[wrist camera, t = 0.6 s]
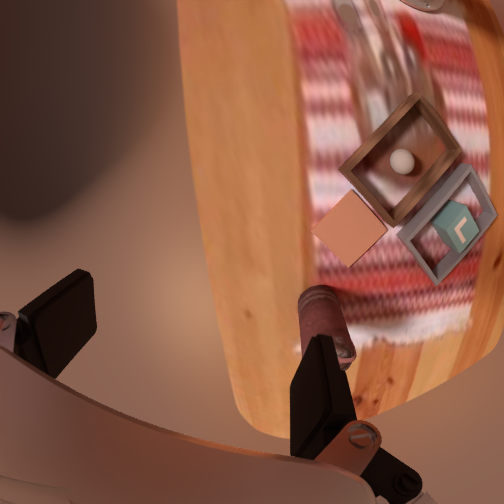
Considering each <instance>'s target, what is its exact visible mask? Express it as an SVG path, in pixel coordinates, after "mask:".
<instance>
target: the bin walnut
mask: <svg viewBox="0 0 504 504" xmlns="http://www.w3.org/2000/svg"><path fill="white" fill-rule="evenodd" d="M413 105H414V107H415V108H416V109H417V110H418V111H419V113H420V114H421V115H422V116H423V117H424V119H425V120H426V121H427V123H428V124H429V125H430V126H431V128H432V129H433V130H434V132H435V133H436V134H437V136H438V137H439V138H440V140H441V141H442V143H443V144H444V145H445V147H446V148H447V149H446V151H445V152H444V153H443V154H442V155H441V156H440V158H439V159H438V160H437V161H436V162H435V163H434V165H433V166H432V167H431V168H430V169H429V170H428V171H427V173H426V174H425V175H424V176H423V177H422V178H421V179H420V180H419V182H418V183H417V184H416V185H415V186H414V187H413V188H412V189H411V190H410V191H409V192H408V194H407V195H406V196H405V197H404V198H403V199H402V200H401V201H400V202H399V203H398V204H397V205H396V206H395V207H394V208H393V209H392V210H391V212H390V213H389V214H388V213H387V212H386V210H385V209H384V208H383V207H382V206H381V205H380V203H379V202H378V201H377V200H376V199H375V198H374V196H373V195H372V194H371V193H370V192H369V191H368V190H367V189H366V187H365V186H364V185H363V184H362V183H361V182H360V181H359V180H358V179H357V178H356V177H355V175H354V174H353V173H352V172H351V170H352V169H353V168H354V167H355V166H356V165H357V164H358V163H359V162H360V161H361V159H362V158H363V157H364V156H365V155H366V154H367V153H368V152H369V151H370V150H371V149H372V148H373V147H374V146H375V145H376V144H377V143H378V142H379V141H380V140H381V139H382V138H383V137H384V136H385V135H386V133H387V132H388V131H389V130H390V129H391V128H392V127H393V126H394V125H395V124H396V123H397V122H398V121H399V120H400V119H401V118H402V117H403V116H404V115H405V113H406V112H407V111H408V110H409V109H410V108H411V107H412V106H413ZM461 152H462V149H461V148H460V146H459V144H458V143H457V141H456V140H455V138H454V137H453V136H452V134H451V133H450V131H449V130H448V128H447V127H446V126H445V124H444V123H443V122H442V120H441V119H440V118H439V116H438V115H437V114H436V112H435V111H434V110H433V108H432V107H431V106H430V105H429V103H428V102H427V101H426V100H425V99H424V97H423V96H422V95H421V94H420V93H419V92H417V93H414V94H412V95H410V96H409V97H408V98H407V99H406V100H405V101H404V102H403V103H402V104H401V105H400V106H399V107H398V108H397V109H396V110H395V111H394V112H393V113H392V114H391V115H390V116H389V117H388V118H387V119H386V120H385V121H384V122H383V123H382V125H381V126H380V127H379V128H378V129H377V130H376V131H375V132H374V133H373V134H372V135H371V136H370V137H369V138H368V139H367V140H366V141H365V142H364V143H363V144H362V145H361V146H360V147H359V148H358V149H357V150H356V151H355V152H354V153H353V154H352V155H351V156H350V158H349V159H348V160H347V161H346V162H345V163H344V164H343V165H342V166H341V167H340V168H339V169H338V170H339V171H340V172H341V173H342V174H343V175H344V176H345V177H346V179H347V180H348V181H349V182H350V183H351V184H352V185H353V186H354V187H355V188H356V189H357V190H358V191H359V192H360V193H361V195H362V196H363V197H364V198H365V199H366V200H367V201H368V202H369V203H370V205H371V206H372V207H373V208H374V209H375V210H376V211H377V213H378V214H379V215H380V216H381V217H382V218H383V220H384V221H385V222H386V223H387V224H389V225H390V226H391V227H393V228H394V227H395V226H396V225H397V224H398V223H399V222H400V221H401V220H402V219H403V218H404V217H405V216H406V215H407V213H408V212H409V211H410V210H411V209H412V208H413V207H414V206H415V205H416V204H417V203H418V202H419V201H420V199H421V198H422V197H423V196H424V195H425V194H426V193H427V192H428V191H429V189H430V188H431V187H432V186H433V185H434V184H435V183H436V181H437V180H438V179H439V178H440V177H441V176H442V174H443V173H444V172H445V171H446V170H447V169H448V167H449V166H450V165H451V164H452V163H453V161H454V160H455V159H456V158H457V156H458V155H459V154H460V153H461Z"/></svg>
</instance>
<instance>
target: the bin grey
mask: <svg viewBox="0 0 504 504" xmlns="http://www.w3.org/2000/svg"><path fill="white" fill-rule="evenodd" d="M465 178H466V180H467V181H468V183H469V185H470V186H471V188H472V190H473V192H474V194H475V195H476V197H477V199H478V201H479V203H480V205H481V207H482V209H483V212H482V213H481V215H480V216H479V217H478V218H477V220H476V221H475V223H476V225H477V227H478V229H479V232H478V233H477V234H476V236H475V237H474V238H473V239H472V240H471V242H470V243H469V244H468V245H467V246H466V247H465V249H464V250H463V251H462V252H461V253H460V254H459V253H458V252H457V251H455V250H454V249H451V250H450V251H449V252H448V254H447V255H446V256H445V257H444V258H443V259H442V260H441V261H440V262H439V263H438V264H437V265H436V266H435V267H434V268H433V269H432V271H431V269H430V268H429V267H428V265H427V264H426V262H425V261H424V259H423V258H422V257H421V255H420V254H419V253H418V251H417V250H416V248H415V247H414V246H413V244H412V243H411V242H410V240H411V239H412V238H413V237H414V236H415V235H416V234H417V233H418V232H419V231H420V230H421V229H422V228H423V227H424V226H425V224H426V223H427V222H428V221H429V220H430V219H431V218H432V217H433V216H434V215H435V213H436V212H437V211H438V210H439V209H440V208H441V207H442V205H443V204H444V203H445V202H446V201H447V200H448V199H449V197H450V196H451V195H452V194H453V193H454V191H455V190H456V189H457V188H458V187H459V185H460V184H461V183H462V182H463V180H464V179H465ZM496 216H497V213H496V211H495V209H494V207H493V205H492V203H491V201H490V199H489V197H488V195H487V193H486V191H485V189H484V187H483V185H482V183H481V181H480V179H479V178H478V176H477V174H476V172H475V170H474V169H473V167H472V165H471V164H465V163H460V164H459V165H458V166H457V167H456V169H455V170H454V171H453V172H452V173H451V175H450V176H449V177H448V178H447V179H446V181H445V182H444V183H443V184H442V185H441V186H440V188H439V189H438V190H437V191H436V192H435V193H434V194H433V196H432V197H431V198H430V199H429V200H428V201H427V202H426V203H425V205H424V206H423V207H422V208H421V209H420V210H419V211H418V212H417V213H416V214H415V215H414V216H413V218H412V219H411V220H410V221H409V222H408V223H407V224H406V225H405V226H404V227H403V228H402V229H401V230H400V231H399V232H398V233H397V234H396V235H397V237H398V238H399V239H400V240H401V242H402V243H403V244H404V246H405V247H406V248H407V249H408V251H409V252H410V253H411V255H412V256H413V257H414V259H415V260H416V261H417V263H418V264H419V265H420V267H421V268H422V270H423V271H424V272H425V274H426V275H427V276H428V278H429V279H430V280H431V281H432V282H433V283H434V284H435V285H436V286H437V285H438V284H439V283H440V282H441V281H442V280H443V279H444V278H445V277H446V276H447V275H448V274H449V273H450V272H451V271H452V269H453V268H454V267H455V266H456V265H457V264H458V263H459V262H460V261H461V260H462V258H463V257H464V256H465V255H466V254H467V253H468V252H469V250H470V249H471V248H472V247H473V246H474V244H475V243H476V242H477V241H478V240H479V238H480V237H481V236H482V235H483V233H484V232H485V231H486V230H487V228H488V227H489V226H490V224H491V223H492V222H493V220H494V219H495V218H496Z"/></svg>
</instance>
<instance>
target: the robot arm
mask: <svg viewBox="0 0 504 504" xmlns="http://www.w3.org/2000/svg"><path fill="white" fill-rule="evenodd" d="M401 1H402V2H404V3H406V4H407V5H410V6H412V7H414V8H417V9H419V10H423V11H436V10H438V9H439V8H441V7H442V6H443V4H444V0H401ZM18 314H19V318H18V319H16V316H15V315H14V314H13V313H11V312H5V311H3V312H0V504H437V502H436V501H435V500H434V499H433V498H432V497H431V496H430V495H429V494H428V492H426V493H423V492H422V491H421V489H422V479H421V477H420V475H419V474H418V473H417V472H416V471H415V470H413V469H412V468H410V467H409V466H407V465H406V464H404V463H403V462H401V461H400V460H398V459H397V458H395V457H394V456H392V455H391V454H390V453H388V452H387V451H385V450H384V449H382V448H381V447H380V445H381V442H382V440H381V439H382V438H381V435H380V432H379V430H378V429H377V428H376V427H375V426H374V425H372V424H371V423H369V422H367V421H363V420H357V417H356V413H355V408H354V404H353V400H352V396H351V391H350V387H349V383H348V379H347V375H346V372H345V371H344V370H341V369H340V365H339V360H338V356H337V352H336V348H335V345H334V341H333V337H332V336H329V335H324V334H317V336H316V337H314V336H312V337H311V339H310V342H309V344H308V346H307V349H306V351H305V353H304V356H303V358H302V360H301V362H300V365H299V367H298V369H297V371H296V373H295V375H294V378H293V380H292V382H291V385H290V455H291V456H295V457H291V456H284V455H279V454H272V453H265V452H259V451H253V450H248V449H242V448H238V447H233V446H228V445H223V444H219V443H215V442H211V441H206V440H203V439H199V438H195V437H191V436H188V435H184V434H181V433H178V432H175V431H171V430H168V429H165V428H162V427H159V426H156V425H153V424H151V423H148V422H145V421H142V420H140V419H137V418H135V417H132V416H130V415H127V414H124V413H122V412H119V411H117V410H115V409H113V408H111V407H108V406H106V405H104V404H102V403H100V402H97V401H95V400H93V399H91V398H89V397H87V396H85V395H83V394H81V393H79V392H77V391H75V390H74V389H72V388H70V387H68V386H66V385H64V384H63V383H61V382H59V381H57V380H56V379H55V378H57V376H58V375H59V374H60V373H61V372H62V370H63V369H64V368H65V367H66V366H67V365H68V364H69V362H70V361H71V360H72V359H73V358H74V356H75V355H76V354H77V353H78V352H79V351H80V350H81V349H82V347H83V346H84V345H85V344H86V343H87V342H88V341H89V340H90V338H91V337H92V336H93V335H94V334H95V332H96V330H97V323H96V313H95V301H94V284H93V278H92V277H91V275H90V273H89V272H87V271H84V270H81V269H77V270H75V271H73V272H72V273H71V274H69V275H68V276H66V277H65V278H63V279H62V280H60V281H59V282H57V283H56V284H55V285H53V286H52V287H50V288H49V289H48V290H46V291H45V292H43V293H42V294H41V295H40V296H38V297H37V298H35V299H34V300H32V301H31V302H30V303H28V304H27V305H26V306H24V307H23V308H22V309H20V310H19V311H18Z"/></svg>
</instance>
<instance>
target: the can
mask: <svg viewBox="0 0 504 504" xmlns="http://www.w3.org/2000/svg"><path fill="white" fill-rule="evenodd" d="M298 313H299V325H300V337H301V350H302V358H303V356H304V353H305V351H306V349H307V346H308V344H309V342H310V339H311V337H312V336H314V337H316V336H317V334H324V335H329V336H332V337H333V341H334V345H335V348H336V352H337V356H338V360H339V365H340V369H341V370H344V371H346V370H347V369H348V368H349V367H350V365H351V363H352V362H353V361H354V360H355V358H356V356H357V355H356V350H355V346H354V344H353V342H352V340H351V338H350V335H349V332H348V329H347V326H346V323H345V320H344V317H343V314H342V311H341V308H340V305H339V302H338V299H337V296H336V295H335V293H334V291H332V290H331V289H330V288H328V287H325V286H314V287H310V288H308V289H307V290H305V291H304V292H303V293H302V294H301V295H300V298H299V300H298Z"/></svg>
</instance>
